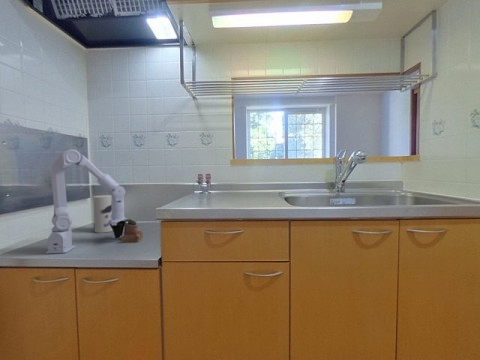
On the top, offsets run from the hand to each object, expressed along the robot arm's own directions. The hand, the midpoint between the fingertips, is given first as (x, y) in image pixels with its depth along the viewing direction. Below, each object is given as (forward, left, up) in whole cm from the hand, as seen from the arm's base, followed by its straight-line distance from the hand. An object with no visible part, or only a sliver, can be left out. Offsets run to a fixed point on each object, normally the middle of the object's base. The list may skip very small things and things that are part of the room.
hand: (118, 236), depth 130 cm
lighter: (0, -5, -2) cm, 6 cm away
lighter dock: (0, -7, -2) cm, 7 cm away
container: (+22, +14, -2) cm, 26 cm away
